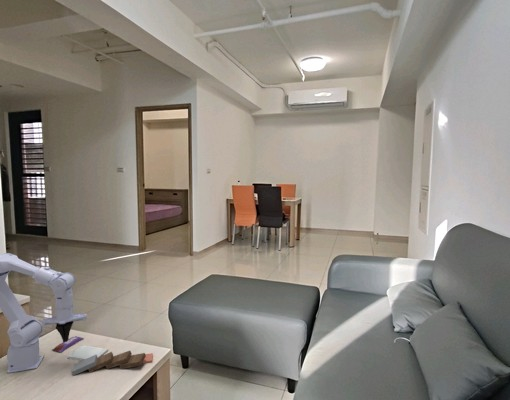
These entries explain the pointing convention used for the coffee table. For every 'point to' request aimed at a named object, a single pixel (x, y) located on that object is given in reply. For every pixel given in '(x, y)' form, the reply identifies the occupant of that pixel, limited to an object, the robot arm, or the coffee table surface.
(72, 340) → the snack package
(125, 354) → the domino
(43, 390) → the coffee table surface
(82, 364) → the domino
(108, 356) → the domino
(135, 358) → the domino
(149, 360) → the domino
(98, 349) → the hard drive
